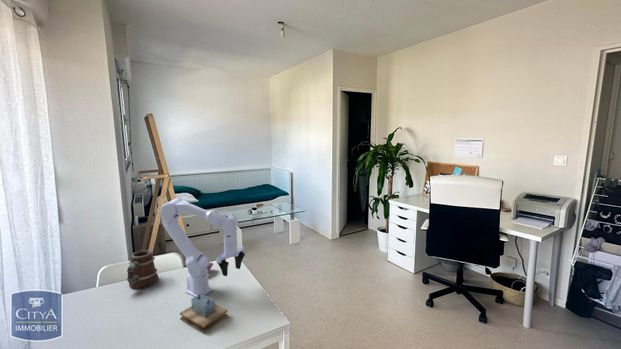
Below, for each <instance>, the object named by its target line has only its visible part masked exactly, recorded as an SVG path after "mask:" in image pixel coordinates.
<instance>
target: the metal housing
mask: <svg viewBox="0 0 621 349" xmlns="http://www.w3.org/2000/svg"><path fill="white" fill-rule="evenodd" d="M190 300H191V306H192V311H193V312H195V313H196V314H198V315H200V316H202V317H204V318H207V317H208V316H210V315H211V314H213V313H214V312H215V304H216V300H215V299H214V298H212V297H210V296H208V295H206V294H205V295H204V294H202V293H201V294H200V295H197V296H196V297H195V296H193V298H191V299H190Z"/></svg>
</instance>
